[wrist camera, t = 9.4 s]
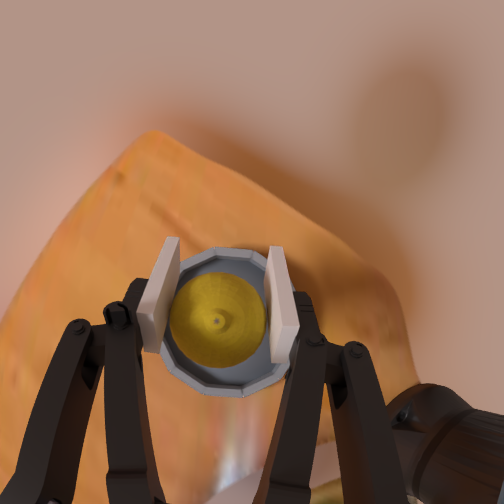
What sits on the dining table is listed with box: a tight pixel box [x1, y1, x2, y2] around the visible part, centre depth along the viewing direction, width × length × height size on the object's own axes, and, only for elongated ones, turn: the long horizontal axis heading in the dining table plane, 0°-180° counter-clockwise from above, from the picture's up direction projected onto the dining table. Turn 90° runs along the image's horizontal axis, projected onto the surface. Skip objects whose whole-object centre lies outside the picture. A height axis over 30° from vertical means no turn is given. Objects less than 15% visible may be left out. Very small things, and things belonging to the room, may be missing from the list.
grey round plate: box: [160, 247, 296, 398], centre depth 27 cm, size 14×14×2 cm
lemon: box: [170, 272, 267, 368], centre depth 16 cm, size 6×6×8 cm
